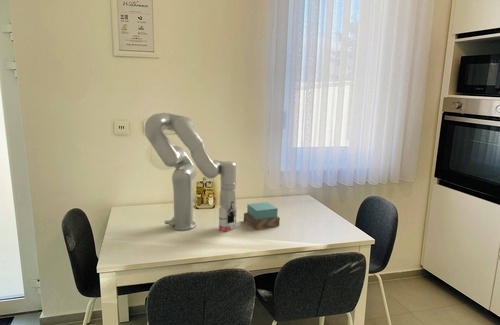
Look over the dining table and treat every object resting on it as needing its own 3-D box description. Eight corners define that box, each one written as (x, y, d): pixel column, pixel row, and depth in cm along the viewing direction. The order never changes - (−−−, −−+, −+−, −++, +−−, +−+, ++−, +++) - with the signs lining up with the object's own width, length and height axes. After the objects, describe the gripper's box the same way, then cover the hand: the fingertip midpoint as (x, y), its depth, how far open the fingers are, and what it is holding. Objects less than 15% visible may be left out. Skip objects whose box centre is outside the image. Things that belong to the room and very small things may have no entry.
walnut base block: (256, 230, 190) (256, 221, 189) (243, 221, 202) (243, 213, 201) (279, 226, 196) (279, 217, 195) (265, 218, 208) (266, 209, 207)
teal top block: (256, 220, 190) (256, 210, 189) (247, 213, 201) (247, 204, 200) (277, 217, 195) (277, 208, 194) (267, 210, 206) (267, 201, 205)
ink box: (225, 232, 185) (225, 209, 183) (218, 230, 188) (218, 207, 185) (236, 227, 192) (237, 205, 189) (229, 225, 194) (229, 203, 192)
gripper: (214, 183, 191) (214, 216, 194) (228, 191, 176) (228, 227, 180) (227, 181, 195) (227, 214, 198) (242, 189, 180) (242, 224, 183)
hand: (227, 220), depth 189 cm, fingers closed on ink box, 6 cm apart
